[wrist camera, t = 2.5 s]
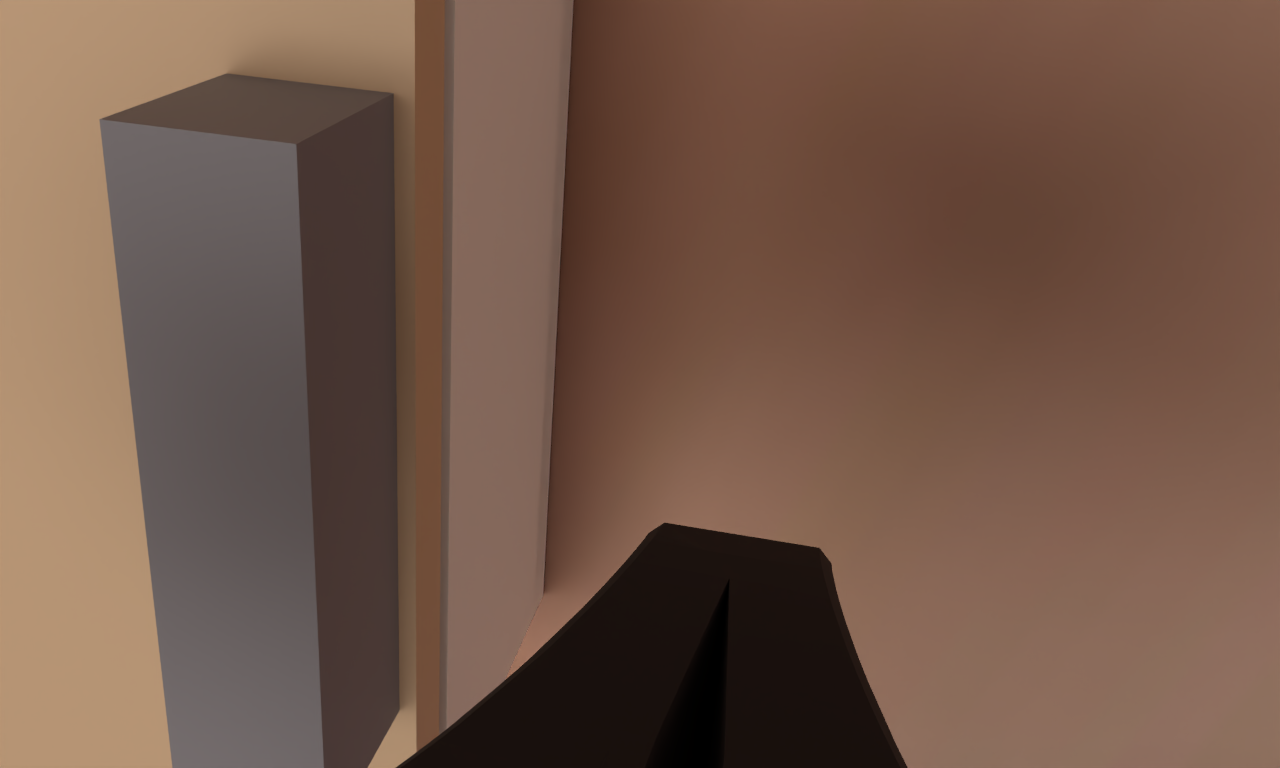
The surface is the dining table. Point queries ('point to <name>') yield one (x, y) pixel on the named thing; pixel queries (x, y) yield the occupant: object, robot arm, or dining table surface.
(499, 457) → the mailer base
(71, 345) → the mailer lid
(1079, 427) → the dining table surface
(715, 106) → the dining table surface
